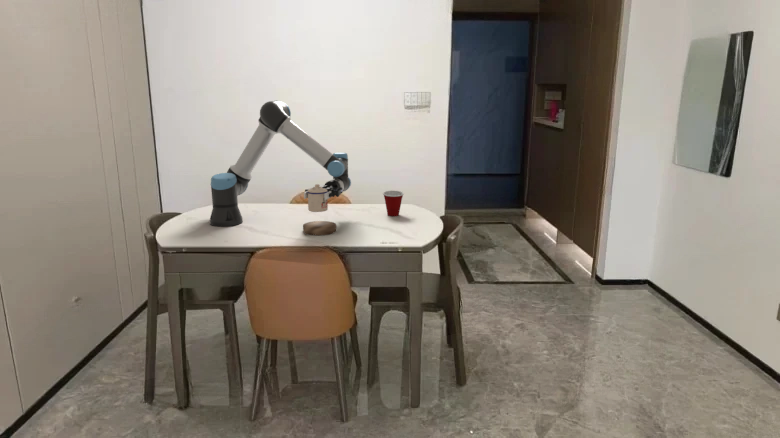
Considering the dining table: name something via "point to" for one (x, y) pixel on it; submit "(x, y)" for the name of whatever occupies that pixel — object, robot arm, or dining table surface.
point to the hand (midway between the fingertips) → (314, 196)
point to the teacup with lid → (317, 199)
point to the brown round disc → (319, 228)
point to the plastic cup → (393, 202)
